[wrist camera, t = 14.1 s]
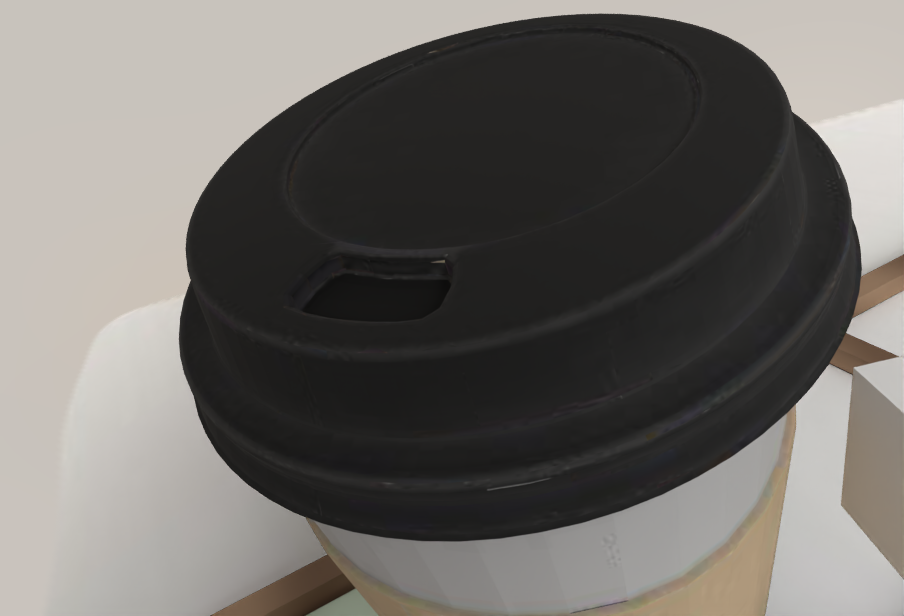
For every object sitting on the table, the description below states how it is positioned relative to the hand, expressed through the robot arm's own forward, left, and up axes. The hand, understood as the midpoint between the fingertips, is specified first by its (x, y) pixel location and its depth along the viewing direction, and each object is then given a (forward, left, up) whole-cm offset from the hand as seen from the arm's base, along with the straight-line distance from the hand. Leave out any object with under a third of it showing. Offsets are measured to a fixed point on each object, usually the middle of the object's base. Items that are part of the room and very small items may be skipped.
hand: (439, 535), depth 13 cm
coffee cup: (-4, -2, -9) cm, 11 cm away
